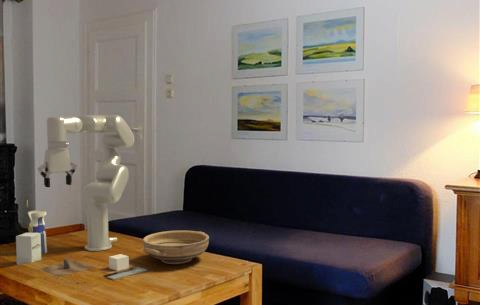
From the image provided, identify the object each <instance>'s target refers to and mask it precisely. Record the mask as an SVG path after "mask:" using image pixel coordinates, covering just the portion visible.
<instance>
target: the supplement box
mask: <svg viewBox="0 0 480 305" xmlns="http://www.w3.org/2000/svg"><path fill="white" fill-rule="evenodd" d="M15 246H16V250H15V251H16V253H15V254H16V265H17V266H19V265H24V264H28V263H34V262H38V261H42V254H41V233H29V232H24V233H22V234H19V235H16V236H15Z"/></svg>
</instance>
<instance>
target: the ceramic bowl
mask: <svg viewBox="0 0 480 305" xmlns="http://www.w3.org/2000/svg"><path fill="white" fill-rule="evenodd" d="M209 240H210V236H209V235H208V234H207V233H205V232H203V231H195V230H167V231H160V232H155V233H151V234H148V235H146V236H145V237H143V239H142V241H143V249H142V251H143V253H145V254H148V255H149V256H151V257H153V258H155V259H158V260H160V261H161V262H162V263H164V264H168V265H182V264H187V263H191V261H192V259H194V258H196V257H198V256H200V255H202V254H203V253H204V252H205V251H206V250H207V249H208V246H209V242H210V241H209Z"/></svg>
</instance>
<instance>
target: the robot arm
mask: <svg viewBox="0 0 480 305" xmlns="http://www.w3.org/2000/svg"><path fill="white" fill-rule="evenodd" d="M67 134H102V135H101V143H102V147H103V148H102V149H103V152H104V153H103V158H102V160H101V162H100V164H99V166H98V169H97V171H96V173H95V179H96V181H93V182H90V183H88V184H87V185H86V186H84V199H85V202H86V215H87V216H86V218H87V244H85V245H84V250H85V251H89V252H98V251H99V252H100V251H105V250H106V251H107V250H110V249H112V247H113V244H112V242H113V243H114V242H117V241H118V238H117V237H116V236H114V237H110V236H109V216H108V215H109V211H108V210H109V209H108V207H107V205H106V204H115V203H117V202H118V201H119V200H120V199H121V197H122V195H123V193H124V190H125V188H126V186H127V183H128V181H129V178H130V176H129V175H130V172H129V169H128V167H127V166H125V165H124V164H121V160H122V159H121V154H120V153H119V151H118V149H117V148H119V149H120V148H121V149H128V148H131V147H133V145H134V143H135V141H136V140H135V135H134V132H133V131H132V130H131V128H130V126H129V125H128V123H127V122H126V121H125V119H124V118H123V117H122V116H120V115H119V114H112V115H111V114H93V115H92V114H85V115H84V114H83V115H67V116H66V115H63V116H61V115H60V116H49V117H47V118H46V137H47V142H46V144H47V149H45V151H44V158H43V164H42V165H40V166H38V167H37V171H38V172H39V175H40V176H41V177H42V178H43V186H44V187H45V188H50V187H51V178H50V176H51V174H55V173H57V174H58V173H65V174H66V175H65V185H67V186H72V181H73V180H72V176H73V175H74V173H75V172H76V170H77V167H78V165H77V164H75V163H73V162H71V157H70V153H69V148H68V146H70V143H69V142H67Z"/></svg>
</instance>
